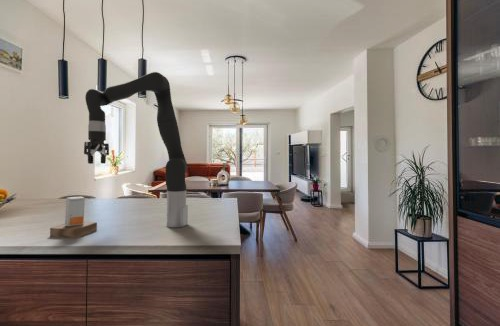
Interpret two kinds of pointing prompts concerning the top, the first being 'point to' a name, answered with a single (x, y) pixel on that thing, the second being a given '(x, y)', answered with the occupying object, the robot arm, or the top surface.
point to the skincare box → (74, 211)
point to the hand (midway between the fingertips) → (97, 163)
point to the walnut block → (73, 230)
